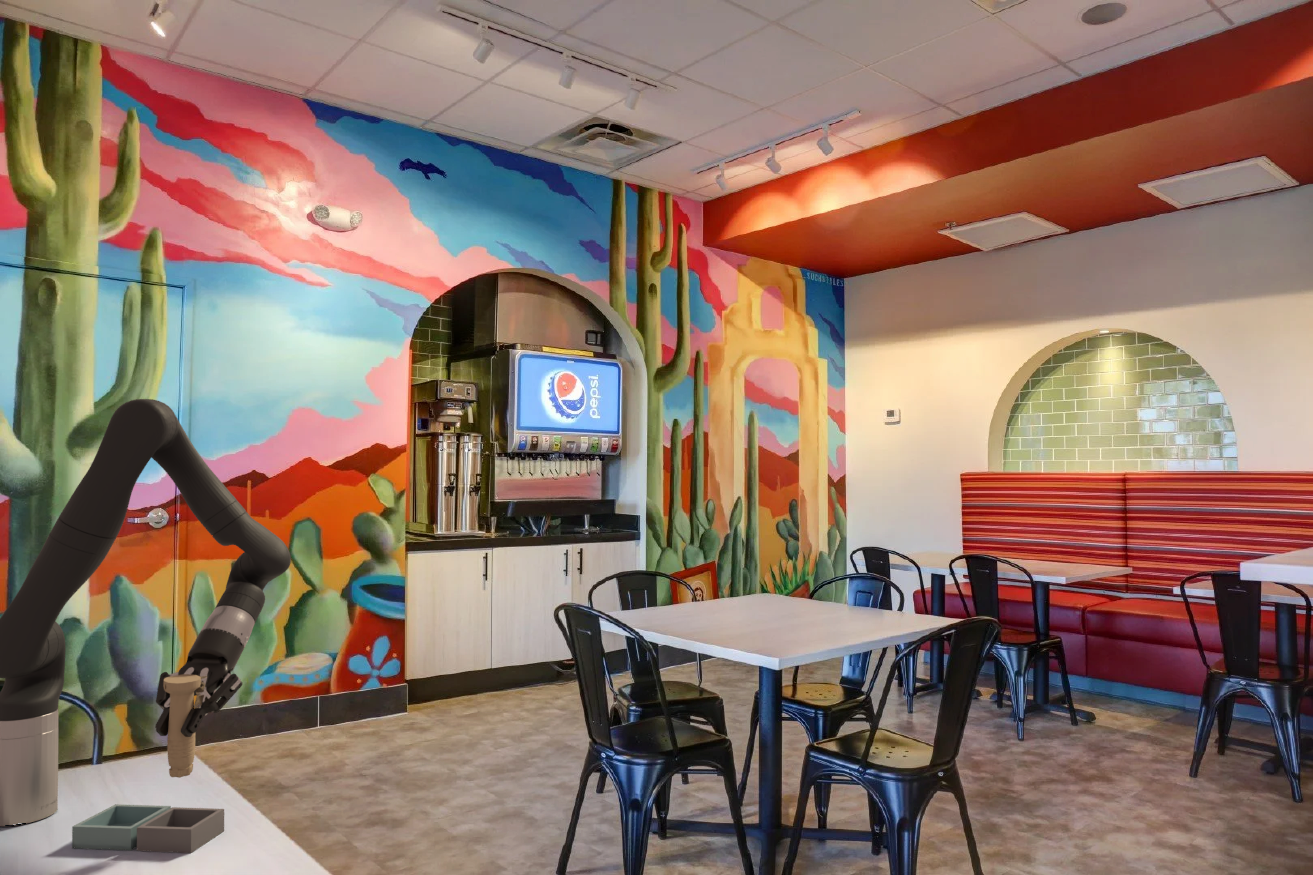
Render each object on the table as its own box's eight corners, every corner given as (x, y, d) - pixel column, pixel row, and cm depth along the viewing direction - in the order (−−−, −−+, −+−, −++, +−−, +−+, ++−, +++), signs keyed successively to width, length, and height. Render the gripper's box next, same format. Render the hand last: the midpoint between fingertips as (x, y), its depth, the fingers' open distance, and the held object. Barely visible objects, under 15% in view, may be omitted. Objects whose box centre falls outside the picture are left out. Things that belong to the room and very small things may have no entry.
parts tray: (72, 848, 133) (72, 826, 133) (115, 824, 142) (115, 804, 142) (130, 850, 132) (130, 828, 132) (170, 826, 141) (170, 806, 141)
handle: (171, 784, 132) (173, 685, 132) (157, 774, 136) (158, 678, 137) (205, 775, 135) (206, 679, 136) (189, 766, 140) (190, 672, 140)
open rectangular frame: (136, 850, 132) (136, 827, 132) (172, 829, 140) (172, 807, 140) (191, 853, 131) (191, 829, 131) (224, 831, 139) (224, 808, 139)
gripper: (173, 626, 145) (118, 720, 132) (252, 627, 143) (204, 723, 131) (194, 651, 150) (142, 744, 137) (270, 652, 148) (225, 747, 136)
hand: (173, 733), depth 134 cm, fingers closed on handle, 3 cm apart
